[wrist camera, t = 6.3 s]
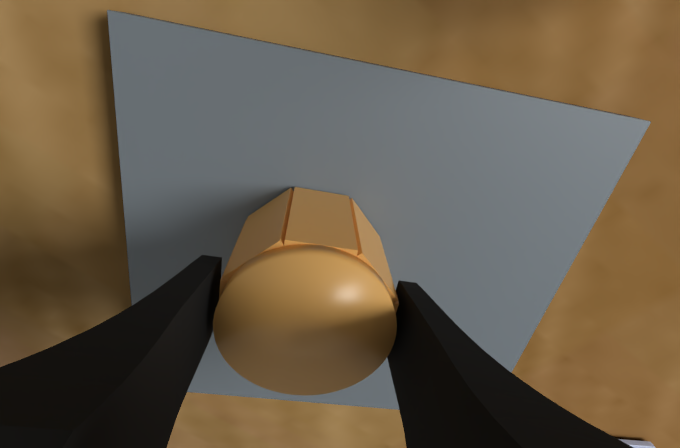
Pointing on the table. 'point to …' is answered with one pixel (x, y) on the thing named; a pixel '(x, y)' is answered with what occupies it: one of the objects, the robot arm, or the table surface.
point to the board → (357, 176)
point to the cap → (306, 296)
